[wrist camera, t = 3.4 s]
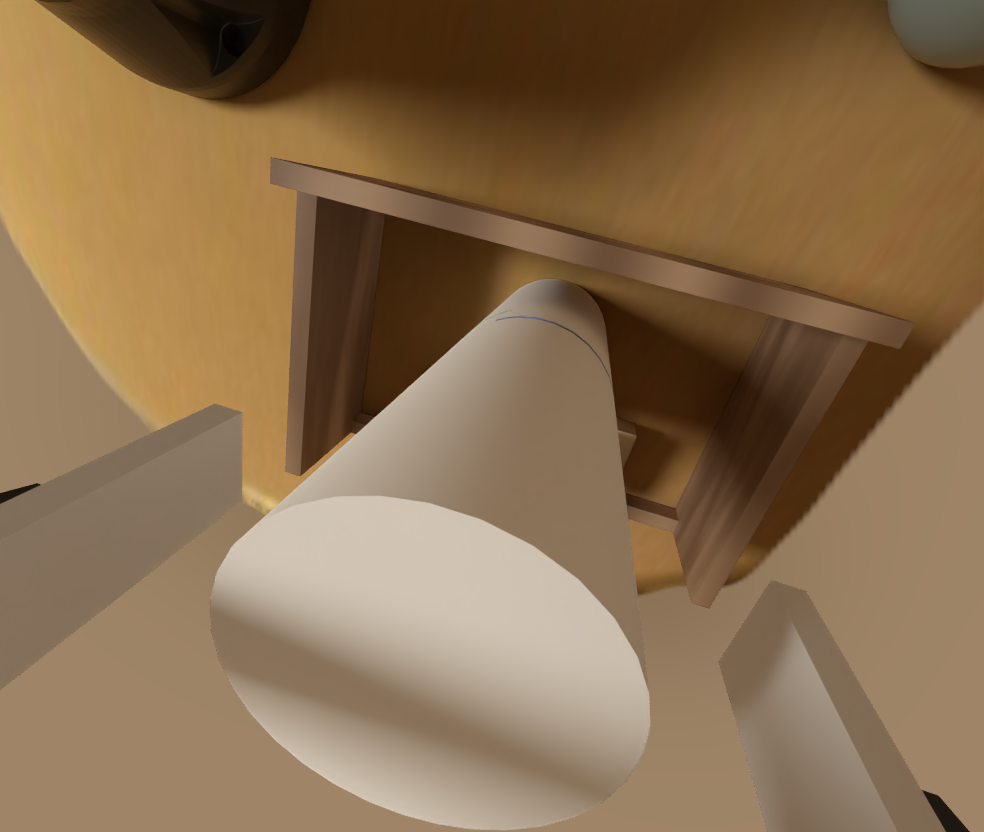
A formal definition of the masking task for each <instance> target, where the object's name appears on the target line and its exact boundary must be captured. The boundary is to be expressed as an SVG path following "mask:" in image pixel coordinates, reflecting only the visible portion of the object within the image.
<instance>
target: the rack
mask: <svg viewBox="0 0 984 832" xmlns="http://www.w3.org/2000/svg"><path fill="white" fill-rule="evenodd" d="M270 184H274V185H278V186H282V187H286V188H289V189H293V190H297V209H296V232H295V255H294V279H293V302H292V325H291V349H290V372H289V395H288V418H287V442H286V465H285V472H288V473H291V474H294V475H297V476H301V475H302V474H304V473H305V472H306V471H307V470H308V469H309V468H311V467H312V466H313V465H314V464H315V463H316V462H317V461H319V460H320V459H321V458H322V457H323V456H324V455H325V454H327V453H328V452H329V451H330V450H331V449H332V448H334V447H335V446H336V445H337V444H338V443H339V442H340V441H342V440H343V439H344V438H345V437H346V436H347V435H348V434H350V433H354V434H357V433H358V432H359V431H360V430H361V429H362V428H364V427H365V426H366V425H367V424H368V423H369V422H370V421H371V420H372V419H374V418H375V417H373V416H370V415H367V414H364V413H362V404H363V396H364V388H365V379H366V371H367V362H368V354H369V346H370V337H371V329H372V320H373V312H374V303H375V295H376V287H377V278H378V270H379V261H380V253H381V245H382V236H383V228H384V219H385V214H388V215H392V216H396V217H400V218H403V219H407V220H411V221H415V222H419V223H422V224H426V225H430V226H434V227H438V228H441V229H445V230H449V231H453V232H457V233H460V234H464V235H468V236H472V237H476V238H479V239H483V240H487V241H491V242H495V243H498V244H502V245H506V246H510V247H514V248H517V249H521V250H525V251H529V252H533V253H536V254H540V255H544V256H548V257H552V258H555V259H559V260H563V261H567V262H571V263H574V264H578V265H582V266H586V267H590V268H593V269H597V270H601V271H605V272H609V273H612V274H616V275H620V276H624V277H628V278H631V279H635V280H639V281H643V282H647V283H650V284H654V285H658V286H662V287H666V288H669V289H673V290H677V291H681V292H685V293H688V294H692V295H696V296H700V297H704V298H707V299H711V300H715V301H719V302H723V303H726V304H730V305H734V306H738V307H742V308H745V309H749V310H753V311H757V312H761V313H764V314H768V315H770V317H769V319H768V321H767V323H766V325H765V327H764V329H763V331H762V333H761V335H760V337H759V339H758V341H757V343H756V345H755V348H754V350H753V352H752V354H751V356H750V358H749V360H748V362H747V364H746V366H745V368H744V370H743V372H742V374H741V376H740V378H739V380H738V382H737V384H736V386H735V388H734V390H733V392H732V394H731V396H730V399H729V401H728V403H727V405H726V407H725V409H724V411H723V413H722V415H721V417H720V419H719V421H718V423H717V425H716V427H715V429H714V431H713V433H712V435H711V437H710V439H709V441H708V443H707V445H706V447H705V449H704V452H703V454H702V456H701V458H700V460H699V462H698V464H697V466H696V468H695V470H694V472H693V474H692V476H691V478H690V480H689V482H688V484H687V486H686V488H685V490H684V492H683V494H682V496H681V498H680V500H679V503H678V505H677V507H676V509H674V508H671V507H668V506H664V505H661V504H658V503H654V502H651V501H648V500H645V499H641V498H638V497H635V496H632V495H628V494H625V496H626V504H627V513H628V519H631V520H634V521H637V522H641V523H644V524H647V525H650V526H653V527H657V528H660V529H663V530H666V531H670V532H673V534H674V538H675V541H676V545H677V549H678V553H679V557H680V561H681V565H682V569H683V572H684V576H685V580H686V584H687V588H688V591H689V596H690V600H691V602H692V603H694V604H696V605H699V606H702V607H706V608H710V606H711V605H712V603H713V601H714V600H715V598H716V596H717V594H718V593H719V591H720V589H721V588H722V586H723V584H724V583H725V581H726V579H727V578H728V576H729V574H730V573H731V571H732V569H733V568H734V566H735V564H736V563H737V561H738V559H739V558H740V556H741V554H742V553H743V551H744V549H745V548H746V546H747V544H748V543H749V541H750V539H751V538H752V536H753V534H754V532H755V531H756V529H757V527H758V526H759V524H760V522H761V521H762V519H763V517H764V516H765V514H766V512H767V511H768V509H769V507H770V506H771V504H772V502H773V501H774V499H775V497H776V496H777V494H778V492H779V491H780V489H781V487H782V486H783V484H784V482H785V481H786V479H787V477H788V476H789V474H790V472H791V470H792V469H793V467H794V465H795V464H796V462H797V460H798V459H799V457H800V455H801V454H802V452H803V450H804V449H805V447H806V445H807V444H808V442H809V440H810V439H811V437H812V435H813V434H814V432H815V430H816V429H817V427H818V425H819V424H820V422H821V420H822V419H823V417H824V415H825V414H826V412H827V410H828V408H829V407H830V405H831V403H832V402H833V400H834V398H835V397H836V395H837V393H838V392H839V390H840V388H841V387H842V385H843V383H844V382H845V380H846V378H847V377H848V375H849V373H850V372H851V370H852V368H853V367H854V365H855V363H856V362H857V360H858V358H859V357H860V355H861V353H862V352H863V350H864V348H865V347H866V345H867V343H868V341H871V342H875V343H878V344H882V345H886V346H890V347H893V348H897V349H900V348H901V347H902V345H903V344H904V342H905V340H906V339H907V337H908V336H909V334H910V333H911V331H912V329H913V328H914V326H915V325H916V323H913V322H909V321H906V320H903V319H900V318H897V317H894V316H890V315H887V314H884V313H881V312H878V311H875V310H871V309H868V308H865V307H862V306H859V305H855V304H852V303H849V302H846V301H843V300H840V299H836V298H833V297H830V296H827V295H824V294H821V293H817V292H814V291H811V290H808V289H805V288H801V287H797V286H793V285H789V284H785V283H781V282H777V281H774V280H770V279H766V278H762V277H758V276H754V275H750V274H746V273H742V272H739V271H735V270H731V269H727V268H723V267H719V266H715V265H711V264H707V263H703V262H700V261H696V260H692V259H688V258H684V257H680V256H676V255H672V254H668V253H664V252H661V251H657V250H653V249H649V248H645V247H641V246H637V245H633V244H629V243H625V242H622V241H618V240H614V239H610V238H606V237H602V236H598V235H594V234H590V233H586V232H583V231H579V230H575V229H571V228H567V227H563V226H559V225H555V224H551V223H547V222H544V221H540V220H536V219H532V218H528V217H524V216H520V215H516V214H512V213H508V212H505V211H501V210H497V209H493V208H489V207H485V206H481V205H477V204H473V203H469V202H466V201H462V200H458V199H454V198H450V197H446V196H442V195H438V194H434V193H430V192H427V191H423V190H419V189H415V188H411V187H407V186H403V185H399V184H395V183H391V182H388V181H384V180H380V179H376V178H371V177H366V176H361V175H356V174H351V173H347V172H342V171H337V170H332V169H327V168H322V167H317V166H312V165H307V164H302V163H297V162H292V161H287V160H282V159H277V158H272V157H271V174H270Z"/></svg>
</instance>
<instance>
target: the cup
mask: <svg viewBox="0 0 984 832" xmlns="http://www.w3.org/2000/svg"><path fill="white" fill-rule="evenodd" d="M886 2H887V10H888V17H889V21H890V24H891V27H892V30H893V33H894V35H895V36H896V38H897V40H898V41H899V43H900V45H901V46H902V47H903V48H904V49H905V50H906V51H907V52H908V53H909V54H910V55H911V56H912V57H913V58H915V59H917V60H918V61H920V62H922V63H924V64H926V65H931V66H935V67H940V68H945V69H956V68H973V67H980V66H984V0H886Z"/></svg>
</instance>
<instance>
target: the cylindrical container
mask: <svg viewBox="0 0 984 832" xmlns="http://www.w3.org/2000/svg"><path fill="white" fill-rule="evenodd" d="M210 615H211V616H210V617H211V633H212V636H213V640H214V644H215V647H216V651H217V654H218V658H219V661H220V663H221V665H222V667H223V669H224V671H225V673H226V675H227V677H228V679H229V682H230V684H231V686H232V687H233V689H234V690H235V692H236V693H237V695H238V696H239V697H240V699H241V700H242V702H243V703H244V705H245V706H246V708H247V709H248V711H249V712H250V713H251V715H252V716H253V717H254V718H255V719H256V720H257V721H258V722H259V723H260V724H261V725H262V726H263V728H264V729H265V730H266V731H267V732H268V733H269V734H270V735H271V736H272V737H273V738H274V739H275V740H276V741H277V742H278V743H279V744H281V745H282V746H283V747H284V748H285V749H287V750H288V751H289V752H290V753H291V754H292V755H294V756H295V757H296V758H297V759H298V760H299V761H301V762H302V763H303V764H305V765H306V766H308V767H309V768H311V769H312V770H314V771H315V772H317V773H318V774H320V775H322V776H323V777H325V778H326V779H327V780H329V781H330V782H332V783H333V784H335V785H337V786H339V787H341V788H343V789H345V790H347V791H349V792H351V793H353V794H355V795H357V796H359V797H360V798H362V799H364V800H366V801H368V802H371V803H374V804H376V805H379V806H381V807H384V808H386V809H389V810H392V811H394V812H397V813H400V814H403V815H406V816H410V817H413V818H417V819H420V820H424V821H428V822H432V823H435V824H441V825H448V826H454V827H460V828H466V829H482V830H514V829H524V828H534V827H541V826H545V825H549V824H552V823H556V822H560V821H563V820H567V819H571V818H573V817H575V816H577V815H580V814H581V813H583V812H585V811H587V810H589V809H591V808H593V807H595V806H597V805H599V804H601V803H603V802H604V801H605V800H606V799H607V798H609V797H610V796H611V795H612V794H613V793H614V792H615V791H616V790H618V789H619V788H620V787H621V786H622V785H623V784H624V783H625V782H626V781H627V780H628V778H629V777H630V775H631V774H632V772H633V770H634V769H635V767H636V766H637V764H638V762H639V761H640V759H641V758H642V756H643V752H644V748H645V745H646V741H647V737H648V733H649V730H650V705H649V704H650V703H649V688H648V680H647V672H646V663H645V655H644V646H643V639H642V630H641V622H640V613H639V605H638V596H637V588H636V580H635V571H634V563H633V554H632V546H631V538H630V529H629V521H628V513H627V504H626V496H625V488H624V479H623V471H622V462H621V454H620V445H619V437H618V428H617V420H616V411H615V402H614V394H613V386H612V377H611V369H610V361H609V353H608V344H607V335H606V327H605V322H604V318H603V314H602V312H601V310H600V308H599V306H598V304H597V303H596V302H595V301H594V299H593V298H592V297H591V296H590V295H589V294H588V293H587V292H586V291H584V290H583V289H582V288H581V287H579V286H577V285H575V284H573V283H571V282H567V281H563V280H560V279H543V280H537V281H534V282H531V283H528V284H526V285H525V286H523V287H521V288H519V289H518V290H517V291H515V292H514V293H513V294H512V295H511V296H510V297H509V298H507V299H506V300H505V301H504V302H503V303H502V304H501V305H500V306H498V307H497V308H496V309H495V310H494V311H493V312H492V313H491V314H489V315H488V316H487V317H486V318H485V319H484V320H483V321H481V322H480V323H479V324H478V325H477V326H476V327H475V328H474V329H472V330H471V331H470V332H469V333H468V334H467V335H466V336H465V337H463V338H462V339H461V340H460V341H459V342H458V343H457V344H456V345H455V346H454V347H452V348H451V349H450V350H449V351H448V352H447V353H446V354H445V355H444V356H442V357H441V358H440V359H439V360H438V361H437V362H436V363H435V364H434V365H432V366H431V367H430V368H429V369H428V370H427V371H426V372H425V373H424V374H422V375H421V376H420V377H419V378H418V379H417V380H416V381H415V382H414V383H412V384H411V385H410V386H409V387H408V388H407V389H406V390H405V391H404V392H402V393H401V394H400V395H399V396H398V397H397V398H396V399H395V400H394V401H392V402H391V403H390V404H389V405H388V406H387V407H386V408H385V409H384V410H382V411H381V412H380V413H379V414H378V415H377V416H376V417H375V418H374V419H372V420H371V421H370V422H369V423H368V424H367V425H366V426H365V427H364V428H362V429H361V430H360V431H359V432H358V433H357V434H356V435H355V436H354V437H353V438H351V439H350V440H349V441H348V442H347V443H346V444H345V445H344V446H343V447H341V448H340V449H339V450H338V451H337V452H336V453H335V454H334V455H333V456H331V457H330V458H329V459H328V460H327V461H326V462H325V463H324V464H323V465H321V466H320V467H319V468H318V469H317V470H316V471H315V472H314V473H313V474H311V475H310V476H309V477H308V478H307V479H306V480H305V481H304V482H303V483H301V484H300V485H299V486H298V487H297V488H296V489H295V490H294V491H293V492H291V493H290V494H289V495H288V496H287V497H286V498H285V499H284V500H283V501H281V502H280V503H279V504H278V505H277V506H276V507H275V508H274V509H273V510H271V511H270V512H269V513H268V514H267V515H266V516H265V517H264V518H263V519H261V520H260V521H259V522H258V523H257V524H256V525H255V526H254V527H253V528H252V529H250V530H249V531H248V532H247V533H246V534H245V535H244V536H243V537H242V538H240V539H239V540H238V541H237V542H236V543H235V544H234V545H233V546H232V547H231V549H230V551H229V553H228V554H227V556H226V558H225V559H224V561H223V563H222V565H221V566H220V568H219V570H218V571H217V573H216V577H215V582H214V586H213V591H212V595H211V600H210Z"/></svg>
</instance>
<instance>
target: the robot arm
mask: <svg viewBox="0 0 984 832" xmlns="http://www.w3.org/2000/svg"><path fill="white" fill-rule="evenodd" d="M35 1H37V2H38V3H39V4H41V5H42V6H43V7H45V8H46V9H47V10H49V11H50V12H51V13H53V14H54V15H55V16H57V17H58V18H60V19H61V20H62V21H64V22H65V23H66V24H68V25H69V26H70V27H72V28H73V29H74V30H76V31H77V32H78V33H80V34H81V35H82V36H84V37H85V38H86V39H88V40H89V41H90V42H92V43H93V44H94V45H96V46H97V47H98V48H100V49H101V50H102V51H104V52H105V53H106V54H108V55H109V56H110V57H112V58H113V59H115V60H116V61H117V62H119V63H120V64H121V65H123V66H124V67H126V68H127V69H129V70H130V71H132V72H134V73H135V74H137V75H139V76H141V77H142V78H144V79H146V80H148V81H151V82H153V83H155V84H158V85H160V86H163V87H166V88H169V89H172V90H175V91H179V92H182V93H185V94H188V95H191V96H195V97H200V98H208V99H222V98H229V97H234V96H238V95H241V94H243V93H246V92H248V91H250V90H252V89H254V88H255V87H257V86H259V85H260V84H261V83H263V82H264V81H265V80H267V79H268V78H269V77H270V76H271V75H272V74H273V73H274V72H275V71H276V70H277V69H278V68H279V67H280V65H281V64H282V63H283V62H284V60H285V59H286V57H287V56H288V54H289V53H290V51H291V49H292V47H293V46H294V44H295V42H296V40H297V38H298V36H299V33H300V31H301V28H302V26H303V23H304V20H305V17H306V14H307V10H308V6H309V2H310V0H35ZM241 502H242V412H239V411H236V410H233V409H230V408H227V407H223V406H220V405H217V404H213V405H211V406H209V407H207V408H205V409H203V410H201V411H198V412H196V413H194V414H192V415H190V416H188V417H186V418H183V419H181V420H179V421H177V422H175V423H173V424H171V425H168V426H166V427H164V428H162V429H160V430H158V431H156V432H154V433H151V434H149V435H147V436H145V437H143V438H141V439H139V440H136V441H134V442H132V443H130V444H128V445H126V446H124V447H121V448H119V449H117V450H115V451H113V452H111V453H109V454H106V455H104V456H102V457H100V458H98V459H96V460H94V461H91V462H89V463H87V464H85V465H83V466H81V467H79V468H76V469H74V470H72V471H70V472H68V473H66V474H64V475H62V476H59V477H57V478H55V479H53V480H51V481H49V482H46V483H44V484H42V485H40V484H37V483H36V484H33V485H29V486H25V487H21V488H18V489H14V490H10V491H7V492H3V493H0V690H1V689H2V688H3V687H5V686H6V685H7V684H8V683H10V682H11V681H12V680H14V679H15V678H16V677H17V676H19V675H20V674H21V673H23V672H24V671H25V670H26V669H28V668H29V667H30V666H31V665H33V664H34V663H35V662H37V661H38V660H39V659H40V658H42V657H43V656H44V655H46V654H47V653H48V652H49V651H51V650H52V649H53V648H54V647H56V646H57V645H58V644H60V643H61V642H62V641H64V640H65V639H66V638H67V637H69V636H70V635H71V634H73V633H74V632H75V631H76V630H78V629H79V628H80V627H81V626H83V625H84V624H85V623H86V622H88V621H89V620H90V619H92V618H93V617H94V616H96V615H97V614H98V613H99V612H101V611H102V610H103V609H105V608H106V607H107V606H108V605H110V604H111V603H112V602H114V601H115V600H116V599H117V598H119V597H120V596H121V595H122V594H124V593H125V592H126V591H128V590H129V589H130V588H131V587H133V586H134V585H135V584H137V583H138V582H139V581H140V580H142V579H143V578H144V577H145V576H147V575H148V574H149V573H151V572H152V571H153V570H155V569H156V568H157V567H158V566H160V565H161V564H162V563H164V562H165V561H166V560H167V559H169V558H170V557H171V556H173V555H174V554H175V553H176V552H178V551H179V550H180V549H182V548H183V547H184V546H185V545H187V544H188V543H189V542H190V541H192V540H193V539H194V538H195V537H197V536H198V535H199V534H201V533H202V532H203V531H205V530H206V529H207V528H208V527H210V526H211V525H212V524H214V523H215V522H216V521H217V520H218V519H220V518H221V517H223V516H224V515H225V514H226V513H228V512H229V511H230V510H231V509H233V508H234V507H235V506H237V505H238V504H239V503H241ZM719 665H720V668H721V672H722V675H723V678H724V682H725V685H726V689H727V693H728V696H729V700H730V703H731V707H732V710H733V714H734V717H735V721H736V724H737V728H738V731H739V735H740V738H741V742H742V745H743V748H744V752H745V756H746V759H747V762H748V766H749V770H750V773H751V777H752V780H753V784H754V787H755V791H756V794H757V798H758V801H759V805H760V808H761V812H762V815H763V819H764V822H765V825H766V829H767V832H969V831H968V829H967V828H966V827H965V826H964V825H963V823H962V822H961V821H960V820H959V819H958V818H957V817H956V815H955V814H954V813H953V812H952V811H951V810H950V809H949V807H948V806H947V805H946V804H945V803H944V802H943V800H942V799H941V798H940V797H939V796H938V795H935V794H932V793H929V792H926V791H923V790H921V788H920V786H919V785H918V783H917V781H916V779H915V778H914V776H913V774H912V773H911V771H910V769H909V767H908V766H907V764H906V762H905V761H904V759H903V757H902V755H901V754H900V752H899V750H898V749H897V747H896V745H895V743H894V742H893V740H892V738H891V736H890V735H889V733H888V731H887V730H886V728H885V726H884V724H883V723H882V721H881V719H880V718H879V716H878V714H877V713H876V711H875V709H874V707H873V706H872V704H871V702H870V700H869V699H868V697H867V695H866V694H865V692H864V690H863V688H862V687H861V685H860V683H859V681H858V680H857V678H856V676H855V675H854V673H853V671H852V669H851V668H850V666H849V664H848V662H847V661H846V659H845V657H844V656H843V654H842V652H841V650H840V649H839V647H838V645H837V644H836V642H835V640H834V638H833V637H832V635H831V633H830V632H829V630H828V628H827V626H826V625H825V623H824V621H823V620H822V618H821V617H820V615H819V613H818V611H817V609H816V607H815V606H814V604H813V602H812V601H811V599H810V597H809V595H808V594H807V592H806V591H804V590H801V589H798V588H795V587H792V586H788V585H785V584H782V583H779V582H776V581H772V580H771V581H770V583H769V584H768V586H767V587H766V589H765V590H764V592H763V593H762V595H761V597H760V598H759V600H758V601H757V603H756V604H755V606H754V607H753V609H752V611H751V612H750V614H749V615H748V617H747V619H746V620H745V621H744V623H743V625H742V626H741V628H740V629H739V631H738V632H737V634H736V635H735V637H734V638H733V640H732V642H731V643H730V645H729V646H728V648H727V649H726V651H725V653H724V654H723V655H722V657H721V659H720V660H719Z"/></svg>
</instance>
